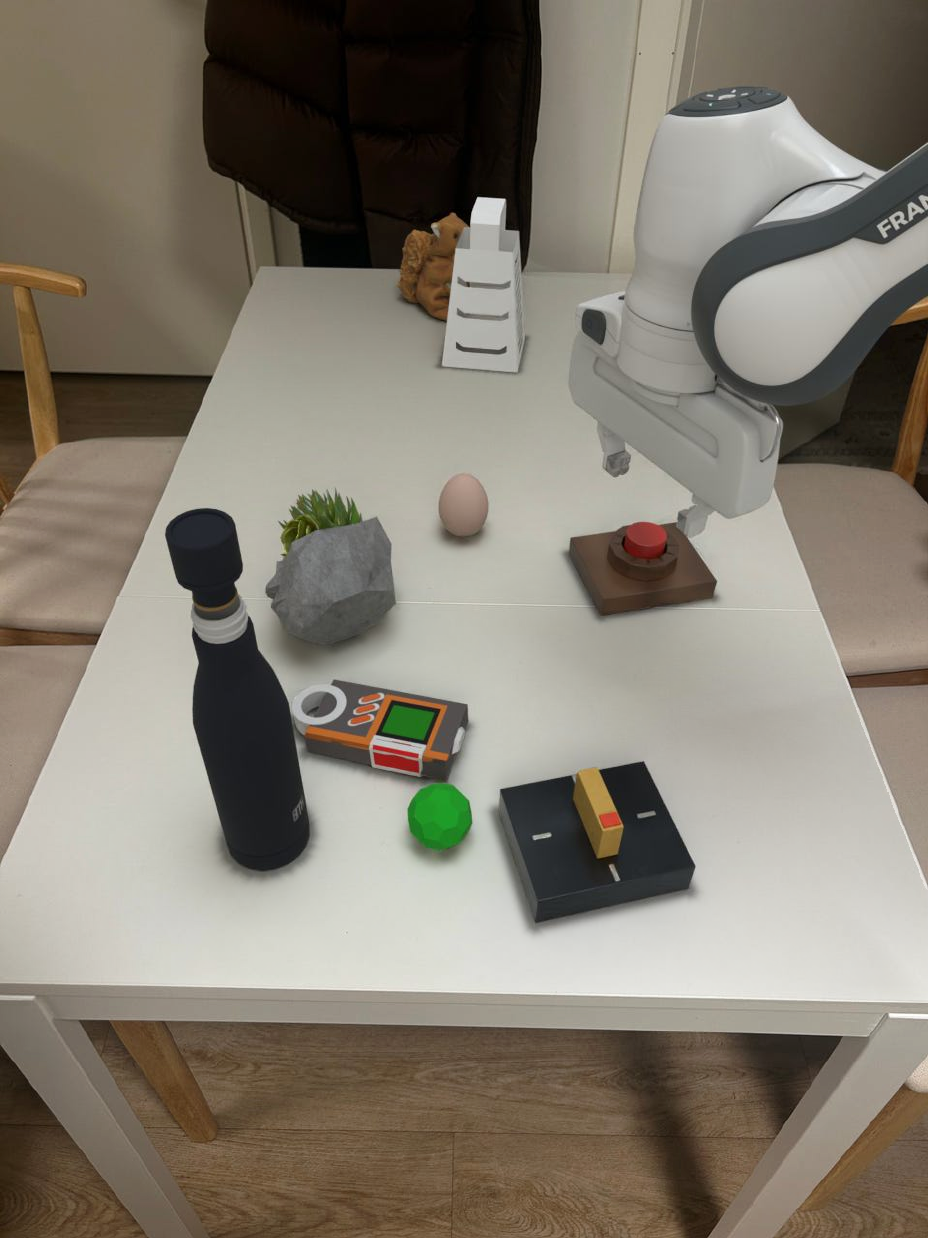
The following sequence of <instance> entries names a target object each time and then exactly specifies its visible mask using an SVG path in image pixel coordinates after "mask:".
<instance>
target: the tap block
mask: <svg viewBox="0 0 928 1238" xmlns="http://www.w3.org/2000/svg"><path fill="white" fill-rule="evenodd" d="M598 770H599V772H600V774H601V777H602V779H603V781H604V783H605V786H606V788H607V790H608V792H609V795H610V797H611V799H612V801H613V804H614V806H615V808H616V810H617V813H618V815H619V817H620V819H621V822H622V824H623V826H624V828H623V832H622V837H621V841H620V846H619V850H618V854H617V855H612V856H607V857H603V858H598V859H597V857H596V854H595V852H594V849H593V847H592V844H591V842H590V840H589V837H588V835H587V832H586V830H585V827H584V825H583V822H582V820H581V817H580V815H579V813H578V810H577V808H576V805H575V803H574V800H573V795H574V789H575V782H576V775H577V773H575V774H570V775H565V776H559V777H555V778H549V779H544V780H539V781H534V782H530V783H525V784H520V785H514V786H509V787H503V788H500V789H499V799H498V800H499V801H498V814H499V817H500V821H501V824H502V827H503V830H504V833H505V836H506V839H507V843H508V845H509V848H510V850H511V854H512V857H513V860H514V863H515V865H516V869H517V872H518V875H519V878H520V881H521V884H522V887H523V890H524V893H525V896H526V900H527V902H528V905H529V908H530V911H531V914H532V917H533V920H534V923H535V924H537V923H542V922H546V921H550V920H555V919H560V918H564V917H568V916H572V915H573V916H574V915H576V914H577V915H578V914H581V913H587V912H590V911H595V910H600V909H603V908H604V909H605V908H608V907H612V906H617V905H621V904H626V903H627V904H628V903H630V902H635V901H639V900H644V899H649V898H652V897H657V896H661V895H666V894H672V893H675V892H680V891H685V890H688V889H690V886H691V883H692V880H693V876H694V874H695V870H696V867H697V866H696V864H695V862H694V860H693V858H692V856H691V854H690V852H689V850H688V848H687V846H686V843H685V842H684V839H683V837H682V836H681V833H680V832H679V829H678V827H677V826H676V823H675V821H674V820H673V818H672V815H671V813H670V810H669V808H668V807H667V805H666V803H665V800H664V799H663V797H662V795H661V793H660V790H659V788H658V787H657V785H656V782H655V781H654V778H653V776H652V774H651V772H650V771H649V767H648V766H647V765H646V762H645V761H644V760H642V761H637V762H636V761H635V762H631V763H626V764H621V765H617V766H611V767H606V768H601V769H598Z"/></svg>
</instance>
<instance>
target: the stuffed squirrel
mask: <svg viewBox="0 0 928 1238" xmlns="http://www.w3.org/2000/svg"><path fill="white" fill-rule="evenodd" d="M464 227H469V228H470V226H469V225H468V224H467V223H466V222H464V221H463V219H461V218H459V217H458V216H457V214H456V213H455V212H451V213H449V215H447V216H445V217H443V218H442V219H440V220H438V221H437V222H433V223H431V225H430V228H431V229H432V231H433V233H432V234H431V233H429V232H426V231H424V230H421V231H420V230H417V229H413V230H412V231H411V232H410V233H408V235H407V236H406V238H405V240H404V246H403V247H402V249H401V250H402V255H403V257H402V260H401V264H400V270H399V269H398V271H399V272H398V273H399V275H400V277H399V280H398V283H397V284H396V287H397V288H399V290H400V292H401V294H402V296H403V298H404V299H405V300H407V302H409V303H412V304H420V305H421V306H422V308H424V309H425V311H426V312H427V313H428V314H429V315H430V316H432V317H433V318H435V319H438V320H441V321H445V322H447V318H448V309H449V301H450V292H451V284H452V275H453V267H454V259H455V250H456V246H457V244H458V241H459V239H460V236H461V234H462V231H463V229H464ZM466 287H471V283H470V282H466Z"/></svg>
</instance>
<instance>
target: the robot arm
mask: <svg viewBox="0 0 928 1238" xmlns="http://www.w3.org/2000/svg"><path fill="white" fill-rule="evenodd" d="M648 151H649V152H648V155H647V159H646V162H645V168H644V171H643V175H642V176H643V177H642V180H641V185H640V192H639V196H638V201H637V206H636V207H637V208H636V213H635V219H634V226H633V246H634V253H635V261H634V266H633V267H634V268H633V271H632V274H631V276H630V278H629V281H628V283H627V285H626V288H625V290H621V291H618V292H617V291H616V292H612V293H608V294H606V295H602V296H598V297H595V298H592V299H590V300H587V301H584V302H581V303H578V304H577V306H576V309H575V313H574V314H575V315H574V324H575V327H576V329H577V330H578V332H577V333H576V335H575V336H574V339H573V342H572V346H571V354H570V360H569V371H568V390H569V393H570V396H571V399H572V401H573V403H574V405H575V406H577V407H578V408H580V409H581V410H582V411H584V412H585V413H586V414H588V415H589V416H590V417H592V418H593V419H594V420H595V421H597V426H596V430H597V435H598V438H599V442H600V445H601V449H602V453H603V457H602V465H601V468H602V470H603V471H605V472H606V473H607V474H609V475H610V476H612V477H613V478H618V477H619V476H624V475H626V474H627V473H628V472H629V470H630V463H631V460H632V454H630V453H629V452H628V451H627V450H626V444H627V445H628V446H630V447H631V448H633V450H634V451H636V452H638V453H639V454H640V455H642V456H643V457H644V458H645V459H647V460H648V461H649V462H650V463H653V464H654V465H655V466H656V467H657V468H659V469H660V470H661V471H663V472H664V473H666V474H667V476H669V477H671V478H672V480H674V481H676V482H677V483H678V484H680V485H681V486H682V487H684V489H686V490H687V491H689V492H690V493H692V495H691V502H692V503H693V504H694V505H692V506H689V507H688V508H684V509H681V510H678V513H677V517H676V519H677V521H676V522H677V523H676V528H677V529H679V530H680V531H681V532H682V533H683V534H685V535H686V536H687V538H688V539H691V538H694V537H696V536H699V535H701V534H702V533H703V532H704V531H705V529H706V526H707V522H708V517H709V516H711V514H712V513H714V512H716V513H718V514H719V515H720V516H722V517H723V518H725V519H728V520H729V519H731V520H732V519H735V518H739V517H741V516H744V515H747V514H750V513H752V512H754V511H757V510H758V509H761V508H762V507H764V506H765V505H767V504H768V503H769V501H770V500H771V496H772V495H773V494H772V493H773V489H774V484H775V480H776V475H777V470H778V462H779V455H780V446H781V438H782V436H783V435H782V434H783V429H784V422H783V420H782V418H781V417H780V415H779V412H778V410H777V409H776V407H775V406H779V407H780V406H781V407H790V406H791V407H792V406H801V405H805V404H809V403H812V402H815V401H818V400H821V399H822V398H824V397H827V396H828V395H830V394H832V393H833V392H834V391H836V390H838V389H839V388H840V387H841V386H842V385H843V384H845V382H846V381H847V380H848V379H849V378H850V377H851V376H852V375H853V373H854V372H856V370H858V367H859V366H860V365H861V364H862V362H863V361H864V359H865V358H866V357H867V356H868V354H869V353H870V351H871V350H872V349H873V347H874V346H875V344H876V343H877V342H878V340H879V339H880V338H881V336H882V335H883V334H884V333H885V332H886V330H888V329H889V328H890V326H891V325H892V324H893V323H894V322H896V320H898V319H899V318H900V317H901V316H902V315H903V314H905V313H906V312H907V311H908V310H910V309H911V308H912V307H914V306H915V305H917V304H918V303H920V302H921V301H923V300H924V299H926V298H927V297H928V142H926V143H925V144H924V145H922V146H920V147H919V148H918V149H917V150H915V151H914V152H913V153H911V154H910V155H908V156H907V157H905V158H904V159H902V160H901V161H900V162H899V163H897V164H896V165H894V166H893V167H892V168H890V169H889V170H885V169H882V168H878V167H874V166H872V165H870V164H868V163H866V162H865V161H862V160H860V159H858V158H856V157H854V156H853V155H851V154H849V153H847V152H846V151H844V150H843V149H841V148H840V147H838V146H837V145H836V144H833V142H831V141H829V140H828V139H827V138H826V137H824V136H823V135H821V134H820V133H819V132H818V131H817V130H816V129H814V127H812V125H810V124H809V122H808V121H807V120H805V118H804V117H803V116H802V115H801V113H800V112H799V110H798V109H797V106H796V105H795V103H794V101H793V100H792V98H790V96H789V95H787V94H786V93H784V92H782V91H779V90H777V89H772V88H768V87H767V86H758V85H757V86H756V85H753V86H752V85H748V86H747V85H743V86H741V85H740V86H729V87H722V88H721V87H720V88H717V89H714V90H708V91H706V90H705V91H702V92H699V93H697V94H695V95H692V96H690V97H688V98H686V99H684V100H682V101H681V102H679V103H678V104H676V105H674V106H673V107H672V108H670V109H669V110H668V111H667V113H665V114H664V115H663V116H662V118H661V119H660V121H659V122H658V125H657V127H656V130H655V133H654V136H653V138H652V142H651V144H650V148H649V150H648Z"/></svg>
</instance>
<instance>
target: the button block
mask: <svg viewBox="0 0 928 1238" xmlns="http://www.w3.org/2000/svg"><path fill="white" fill-rule="evenodd" d="M677 522H678V521H675V522H667V523H662V524H661V523H660V524H658V525H659V526H660V527H662V528H663V529H664V530H665V532H666V534H667V539H666V543H665V548H664V552H663V554H662V555H661V556H660V557H658V558H655V559H642V558H637V557H634V556H632V555H630V554H629V553H628V552H627V551H626V550H625V547H624V543H625V536H626V530H627V528H628V527H629V526H630V525H631V524H629V525H628V524H626V525H622V526H621V527H619V528H618V529H616V530H612V531H607V532H606V531H605V532H600V533H593V534H585V535H578V536H572V537H570V539H569V546H568V547H569V548H568V555H569V557H570V559H571V561H572V563H573V565H574V567H575V568H576V570H577V573H578V574H579V576H580V578H581V580H582V582H583V584H584V586H585V588H586V590H587V591H588V594H589V595H590V597H591V599H592V601H593V603H594V605H595V607H596V609H597V611H598V612H599V614H600V616H605V615H606V616H607V615H613V614H619V613H624V612H631V611H636V610H642V609H643V610H644V609H651V608H656V607H662V606H667V605H673V604H674V605H675V604H679V603H686V602H692V601H698V600H705V599H711V598H714V595H715V590H716V588H717V584H718V580H717V578H716V577H715V576H714V574H713V573H712V571H711V570H710V568H709V567H708V566H707V564H706V563H705V561H704V560H703V558H702V557H701V555H700V553H699V552H698V551H697V549H696V548H695V546H694V545H693V544H692V542H691V541H690V538H688V537H687V536H686V535H685V534H683V533H682V532H681V531H680V530H679V529H677V528H676V523H677Z"/></svg>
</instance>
